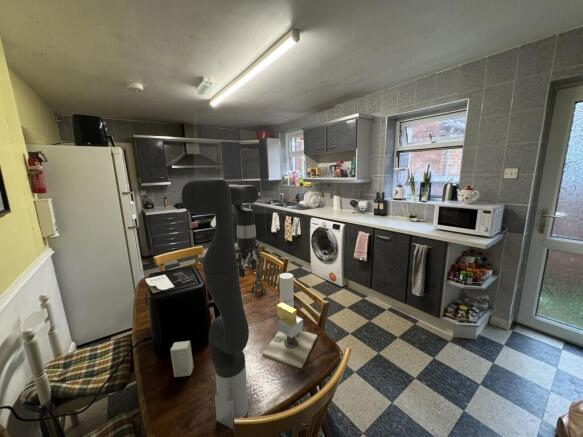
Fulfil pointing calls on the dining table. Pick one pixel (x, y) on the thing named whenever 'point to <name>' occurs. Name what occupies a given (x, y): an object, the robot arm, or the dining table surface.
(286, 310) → the coupling
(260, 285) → the eiffel tower
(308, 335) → the post base
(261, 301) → the dining table surface
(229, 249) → the robot arm
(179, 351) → the skincare box
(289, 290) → the tall white block
